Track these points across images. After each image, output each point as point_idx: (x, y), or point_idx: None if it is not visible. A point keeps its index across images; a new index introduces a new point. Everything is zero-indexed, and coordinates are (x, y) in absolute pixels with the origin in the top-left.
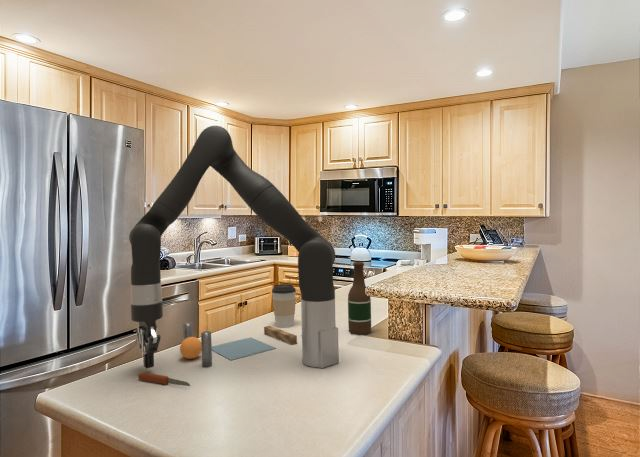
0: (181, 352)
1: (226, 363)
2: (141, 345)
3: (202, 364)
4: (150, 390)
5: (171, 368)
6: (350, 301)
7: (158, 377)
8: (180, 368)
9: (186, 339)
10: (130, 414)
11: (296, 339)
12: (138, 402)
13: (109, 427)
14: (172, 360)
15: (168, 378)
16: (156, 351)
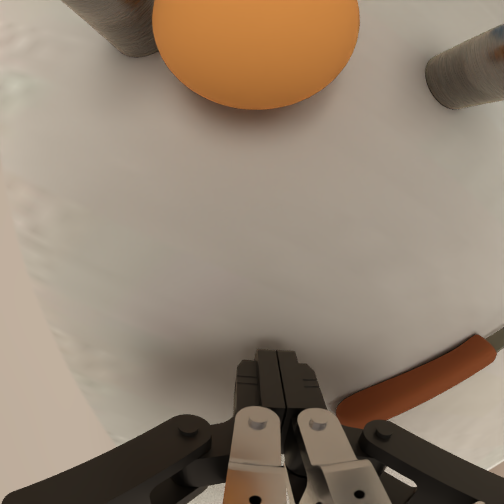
0: (255, 109)
1: (473, 18)
2: (204, 489)
3: (458, 106)
4: (459, 397)
5: (330, 239)
6: None
7: (462, 380)
8: (376, 200)
9: (260, 12)
10: (499, 442)
11: None
12: (480, 429)
13: (493, 467)
14: (181, 160)
15: (498, 349)
16: (387, 422)
